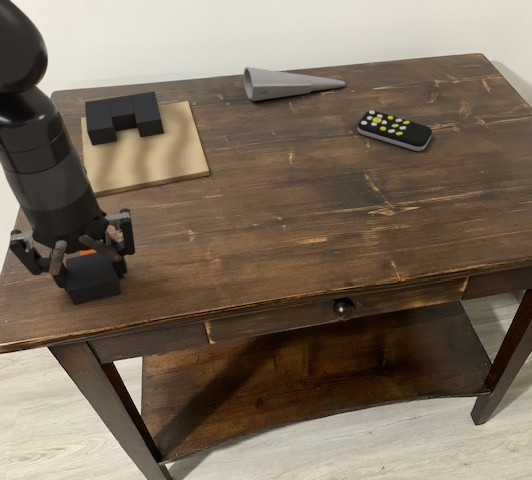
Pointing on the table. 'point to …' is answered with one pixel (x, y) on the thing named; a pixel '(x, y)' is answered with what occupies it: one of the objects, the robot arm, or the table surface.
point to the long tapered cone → (283, 84)
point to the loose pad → (91, 277)
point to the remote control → (394, 130)
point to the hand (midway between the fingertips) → (95, 279)
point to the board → (146, 154)
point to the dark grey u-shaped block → (122, 117)
